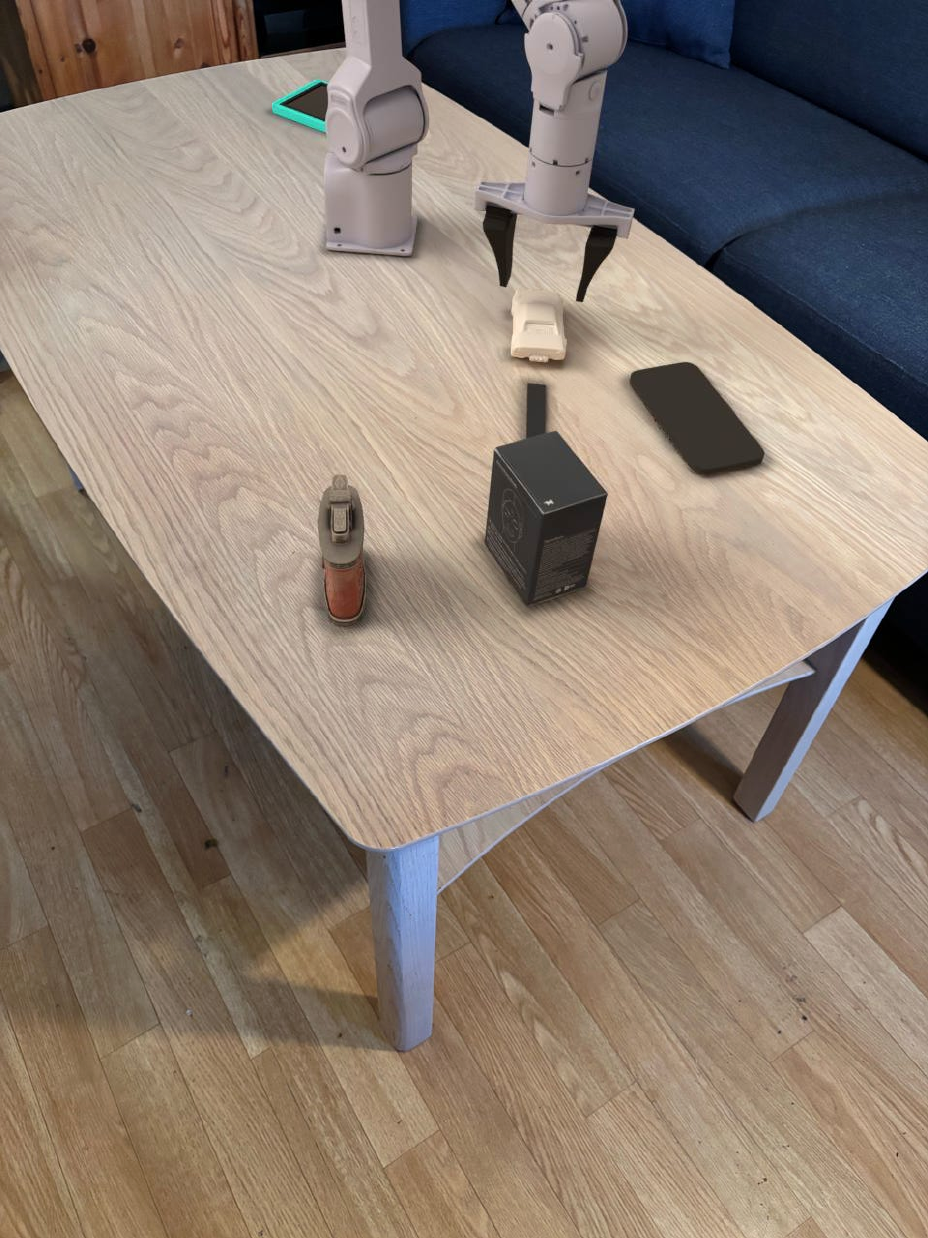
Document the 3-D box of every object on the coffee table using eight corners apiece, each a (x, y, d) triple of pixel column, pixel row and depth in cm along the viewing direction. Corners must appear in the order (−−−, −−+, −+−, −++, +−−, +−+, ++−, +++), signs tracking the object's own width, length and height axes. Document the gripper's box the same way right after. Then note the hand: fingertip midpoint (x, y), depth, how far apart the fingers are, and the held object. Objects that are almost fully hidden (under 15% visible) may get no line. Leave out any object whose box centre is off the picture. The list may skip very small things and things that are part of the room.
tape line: (524, 491, 84) (525, 490, 84) (527, 384, 94) (527, 382, 94) (545, 493, 84) (545, 492, 84) (545, 385, 94) (545, 384, 94)
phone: (693, 359, 96) (770, 456, 88) (691, 366, 97) (767, 463, 88) (626, 371, 94) (698, 472, 86) (624, 378, 95) (696, 478, 86)
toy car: (561, 303, 103) (565, 275, 100) (565, 373, 95) (569, 345, 93) (509, 299, 103) (512, 271, 100) (509, 370, 95) (513, 341, 92)
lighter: (324, 550, 79) (315, 459, 71) (365, 549, 79) (362, 458, 71) (323, 628, 74) (314, 538, 66) (367, 627, 74) (364, 537, 66)
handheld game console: (368, 150, 121) (367, 139, 120) (269, 112, 126) (268, 101, 125) (413, 121, 127) (414, 111, 126) (317, 86, 132) (317, 76, 130)
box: (587, 587, 78) (610, 493, 70) (526, 609, 76) (542, 514, 68) (541, 523, 82) (557, 426, 74) (481, 542, 80) (491, 445, 72)
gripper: (649, 144, 86) (621, 281, 97) (491, 116, 88) (481, 253, 98) (637, 182, 82) (610, 320, 92) (472, 151, 84) (464, 291, 94)
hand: (542, 288), depth 95 cm, fingers open, 7 cm apart
